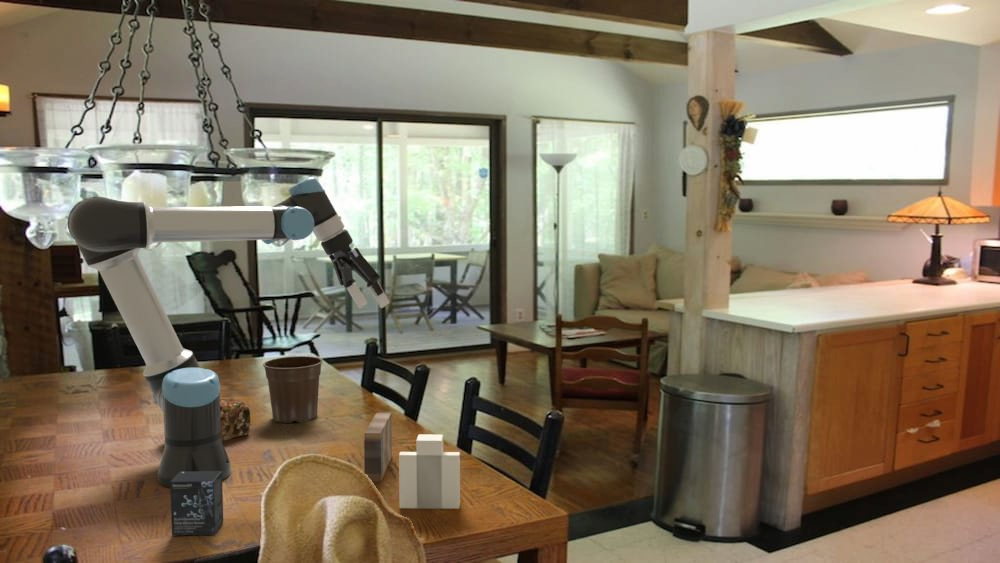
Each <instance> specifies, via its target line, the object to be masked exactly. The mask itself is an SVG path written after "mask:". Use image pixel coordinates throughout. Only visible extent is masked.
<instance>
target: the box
mask: <svg viewBox="0 0 1000 563" xmlns="http://www.w3.org/2000/svg"><path fill="white" fill-rule="evenodd" d="M169 488H170V489H169V490H170V509H171V510H170V517H171V518H170V519H171V536H172V537H175V536H176V537H177V536H215V535H216V534H217V533H218V531H219V530H220V528H221V527H222V526H223V524H224V501H223V500H224V498H223V497H224V495H223V493H224V492H223V480H222V471H191V472H185V471H180V472H179V473H178V474H177V475H176V476H175V477H174V478H173V479H172V480H171V482H170V487H169Z"/></svg>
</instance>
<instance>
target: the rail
mask: <svg viewBox="0 0 1000 563" xmlns="http://www.w3.org/2000/svg"><path fill="white" fill-rule="evenodd" d="M392 431H393V430H392V412H376V413H375V415H374V416H373V418H372V420H371V422H370V423H369V424H368V426H367V428H366V430H365V431H364V434H363V436H364V437H363V438H364V440H363V450H364V451H363V454H364V455H363V459H364V460H363V461H364V464H363V466H364V469H363V470H364V475H365V474H367V475H368V477H369V478H370V479H371V480H372V481H374V483H375V482H378V483H379V482H382V480H383V479H384V475H385V473H386V471H387V469H388V467H389V465H390V463H389V462H391V460H392V459H393V451H392V450H393V447H392V445H393V443H392V442H393V441H392V437H393V436H392Z"/></svg>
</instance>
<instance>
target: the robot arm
mask: <svg viewBox="0 0 1000 563" xmlns="http://www.w3.org/2000/svg"><path fill="white" fill-rule="evenodd" d="M288 191H289V193H290V196H289V197H288V198H286V199H285V200H282V201H281V202H279V203H277V204H276V205H273V206H149V205H148V203H147V202H139V201H138V202H137V201H136V202H135V201H134V202H132V201H131V202H130V201H126V200H125V201H124V200H117V199H112V198H108V197H104V196H92V197H88V198H87V197H86V198H85V199H83V200H79V202H77V203H76V204H75V205H74V206H73V207H72V209H71V210H70V211H69V213H68V216H67V217H68V218H67V230H68V232H69V234H70V236H71V238H72V239H73V240H74V241H75V244H76V246H77V247H78V250H79V251H80V253H81V255H82V257H83V259H84V261H85V263H86V265H87V267H89V268H92V269H95V270H97V271H98V272H99V274H100V276H101V278H102V280H103V282H104V284H105V285H106V288H107V291H109V294H110V295H111V298H112V300H113V301H114V304H115V306H116V307H117V310H118V312H119V313H120V315H121V317H122V319H123V321H124V323H125V326H126V327H127V329H128V331H129V333H130V335H131V337H132V339H133V342H134V343H135V345H136V346H137V349H138V351H139V353H140V355H141V357H142V359H143V360H144V363H145V367H144V370H143V372H142V375H143V376H144V379H145V380H146V383H147V386H148V387H149V389H150V390H151V393H152V397H153V400H154V401H155V403H156V404H157V405H158V406H159V407H160V410H161V411H162V414H163V428H164V448H163V452H162V455H161V458H160V462H159V466H158V468H157V481H158V484H159V485H161V486H163V487H166V488H170V482H171V480H172V479H173V478H174V477H175V476H176V475H177V474H178V473H179V472H180V471H185V472H191V471H222V481H223V480H225V479H226V478H228V477H229V476H230V475H231V471H232V470H231V468H232V467H231V461H230V458H229V456H228V453H227V451H226V448H225V446H224V443H223V441H222V440H221V418H220V399H221V384H220V380H219V376H218V374H217V373H216V372H214V371H213V370H211V369H208V368H206V369H205V368H204V367H201V366H200V364H199V362H198V360H197V358H196V357H195V354H194V353H193V351H192V350H189V349H186V348H184V347H183V345H182V344H181V342H180V339H179V337H178V336H177V335H178V334H177V333H176V331H175V329H174V327H173V325H172V323H171V320H170V319H169V317H168V315H167V313H166V310H165V308H164V307H163V305H162V302H161V300H160V298H159V296H158V295H157V292H156V290H155V288H154V286H153V283H152V282H151V279H150V278H149V275H148V274H147V272H146V269H145V268H144V265H143V263H142V262H141V259H140V257H139V252H140V250H141V249H147V248H148V247H149V246H151V245H152V244H154V243H157V244H158V243H160V244H161V243H190V242H193V243H194V242H226V241H227V242H229V241H231V242H233V241H262V242H263V243H264V244H266V245H270V244H272V243H273V244H274V243H275V242H278V241H279V240H292V241H299V240H301V241H302V240H304V239H306V238H308V237H310V236H311V234H312V233H313V235H314V236H315V238H316V239H317V241H318V242H321V243H320V246H321V247H322V249H323V251H324V252H325V254H326V256H328V257H329V260H330V261H331V263H332V266H333V268H334V271H335V274H336V277H337V280H338V282H339V285H340V286H341V287H342V286H344V288H346V290H347V292H348V293H349V295H350V296H351V298H352V300H353V302H354V303H355V305H356V306H357V309H362V308H363V307H364V306H366V305H368V300H366V298H365V296H364V294H363V293H362V291H361V290H360V287H359V286H358V284H357V283H356V280H355V278H354V277H353V272H352V271H354V272H355V273H356V274H357V275H358V276H359V277H360V278H361V279H362V280H364V282H365V283H366V288H368V289H369V290H370V293H371V295H372V296H373V298H374V300H375V301H376V303H377V305H378V306H379V308H380V309H383V308H385V307H387V305H389V304H390V303H391V302H390V300H389V298H388V297H387V295H386V293H385V291H384V289H383V287H382V286H381V284H380V283H379V280H380V279H381V276H380V275H379V274H378V272H377V271H376V270H375V268H374V267H373V266H372V265H371V264H370V263H369V261H368V260H366V258H365V256H363V254H362V253H361V252H360V250H359V248H357V247H355V248H351V246H350V245H352V243H353V238H352V236H351V234H350V233H349V231H348V230H347V229H344V228H345V224H344V223H343V221H342V216H340V215H339V213H337V211H336V209H335V207H334V205H333V204H332V202H331V200H330V199H329V197H328V195H327V193H326V190H325V189H324V188H323V186H322V185H321V183H320V181H319V180H318V179H317V178H316V177H314V176H309V177H307V178H305V179H303V180H301V181H299V182H297V183H296V184H294V185H293V186H290V188H289V190H288Z"/></svg>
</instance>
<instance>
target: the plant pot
mask: <svg viewBox="0 0 1000 563" xmlns="http://www.w3.org/2000/svg"><path fill="white" fill-rule="evenodd" d="M323 360H324V359H322V358H320V357H317V356H307V355H304V356H303V355H299V356H284V357H276V358H273V359H269V360H266V361H264V362H263V363H262V367H263V368H264V371H265V377H266V379H267V384H268V390H269V399H270V406H271V413H272V415H271V416H272V419H273V421H275V422H277V423H281V424H282V423H283V424H291V423H293V422H297V423H303V422H308V421H311V420H313V419H315V418H316V417H317V416H318V402H319V386H320V376H321V373H322V364H323V362H324V361H323Z"/></svg>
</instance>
